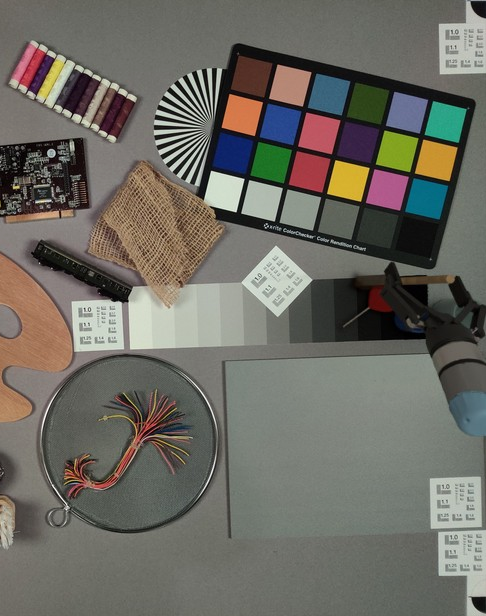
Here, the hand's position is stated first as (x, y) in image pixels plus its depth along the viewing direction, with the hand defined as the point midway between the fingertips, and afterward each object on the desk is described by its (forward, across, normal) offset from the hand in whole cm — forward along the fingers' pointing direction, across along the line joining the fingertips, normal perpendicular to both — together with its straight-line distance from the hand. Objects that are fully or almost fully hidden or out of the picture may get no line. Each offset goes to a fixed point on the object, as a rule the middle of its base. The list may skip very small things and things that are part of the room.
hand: (421, 273), depth 119 cm
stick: (+7, 0, -9) cm, 11 cm away
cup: (+14, +22, -21) cm, 33 cm away
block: (+16, 0, -18) cm, 25 cm away
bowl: (+12, +14, -23) cm, 29 cm away
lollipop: (+12, +3, -23) cm, 26 cm away
